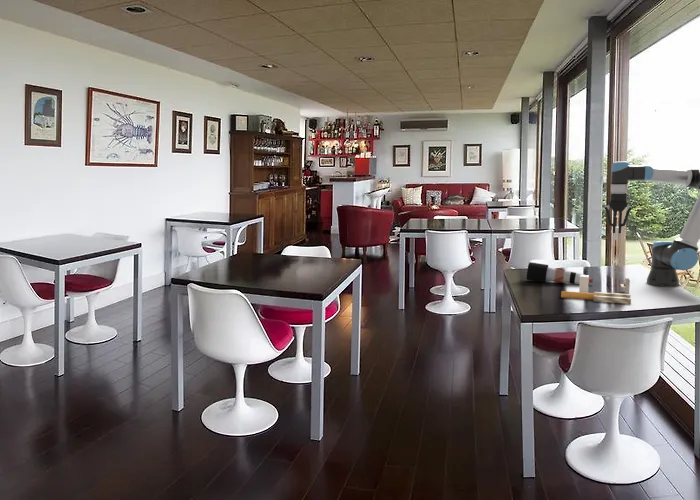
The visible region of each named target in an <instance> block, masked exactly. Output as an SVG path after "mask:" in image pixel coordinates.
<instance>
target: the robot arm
mask: <svg viewBox="0 0 700 500" xmlns="http://www.w3.org/2000/svg"><path fill="white" fill-rule="evenodd" d="M610 171H611V177H610V178H611V183H610V192H611V193H610V194H609V195H610V197H609V198H610V200H609V203H608V205H606V206H604V208H603V209H604V211H605V212H606V216H607V220H608V225H609V226H611V227H612V233H613V234H614V241H619V234H621V233H622V228H623V227H624V226H626V224H627V221H628V217H629V214H630V212H631V211H632V209H633V207H632V206H630V205H628V194H627V192H628V183H629V182H631V181H635V182H637V181H638V182H649V183H651V182H652V183H661V184H671V185H681V186H683V187H684V188H685V187H686V188H692V189H696V190H697V191H698V194H699V195H698V197H697V199H696V201H695V203H694V205H693V207H692V209H691V211H690V214H689V215H688V218H687V220H686V221H685V224H684V226H683V228H682V230H681V232H680V234H679V236H678V238H675V239H673V240H672V241H671V240H670V241H668V240H667V241H665V240H664V241H654V242H653V243H652V248H651V267H650V271H649V273H648V275H647V277H646V283H647V284H648V285H651V286H657V287H658V286H659V287H679V285H680V281H679V277H678V273H677V271H688V270H691V269H693V268H694V267H696V266H697V264H698V261H699V253H698V251H699V246H698V243H699V241H700V167H699V168H698V167H696V168H691V167H689V168H684V169H678V168H665V167H653V166H652V165H647V164H643V165H641V164H640V165H638V164H634V165H633V164H632V165H630V164H629V162H628V161H614V162H613V163H612V166H611V170H610ZM610 208H611V210H612V211H613V220H612V219H611V215H610ZM625 209H626V212H625V216H624V219H623V218H622V217H623V212H624V210H625ZM617 212H618V226H616V225H617ZM622 220H623V221H622Z"/></svg>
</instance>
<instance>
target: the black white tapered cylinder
mask: <svg viewBox="0 0 700 500" xmlns="http://www.w3.org/2000/svg"><path fill="white" fill-rule="evenodd" d="M580 275H584V273H581V272H579V273H578V272H576V271H575V272H574V271H571V270H570V271H569V270H565V269H559V268H555V267H554V268H553V267H549V264H544V263H537V262H532V261H529V262H528V266H527V272H526V280H527V281H533V282H540V283H545V282H550V281H551V282H555V283H563V284H564V283H566V284H572V285H580ZM589 283H591V284H593V283H594V278H589Z"/></svg>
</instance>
